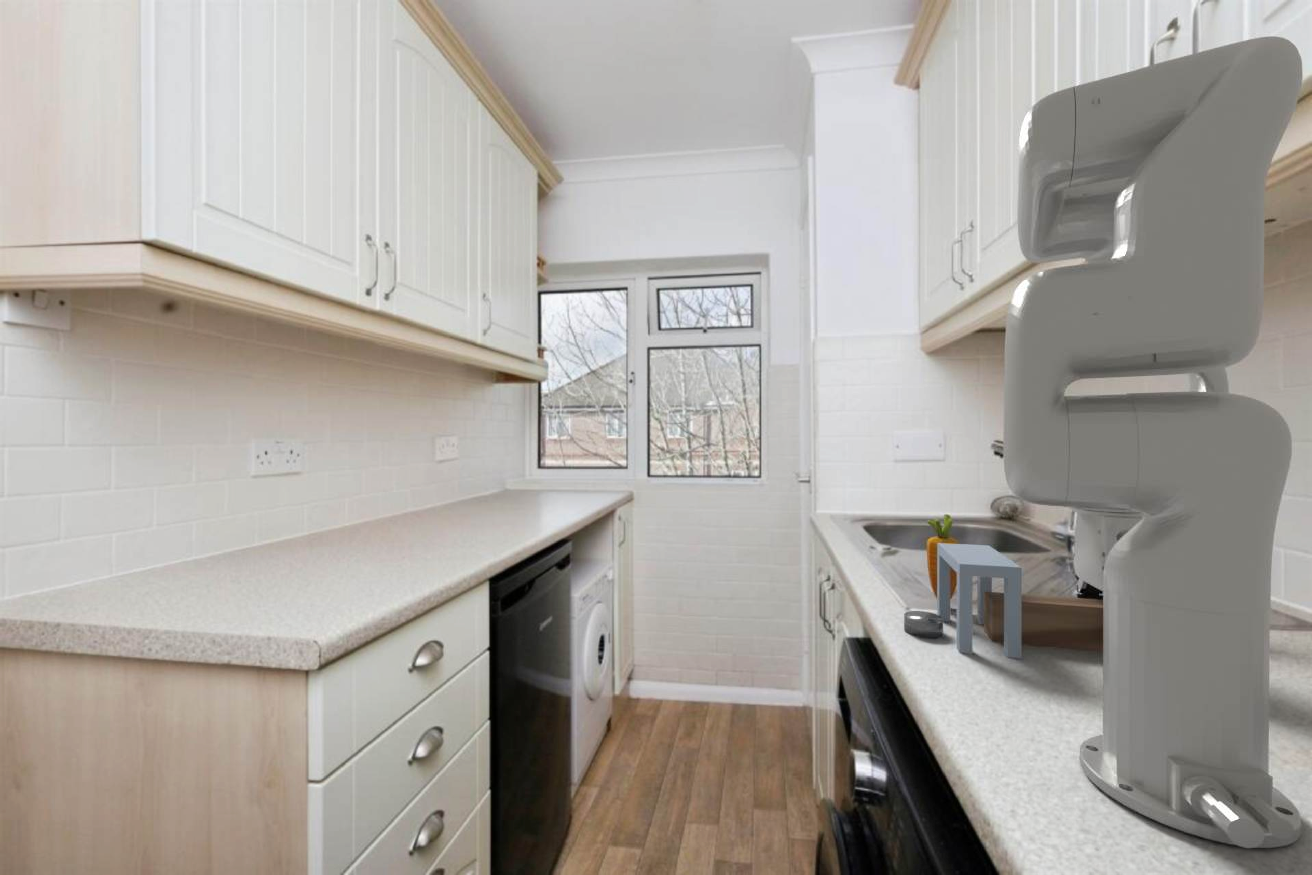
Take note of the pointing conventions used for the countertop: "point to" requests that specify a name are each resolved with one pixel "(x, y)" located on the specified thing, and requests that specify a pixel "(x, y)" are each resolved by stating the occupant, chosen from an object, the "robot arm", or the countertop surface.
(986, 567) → the low shelf
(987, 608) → the brown block
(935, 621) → the grey metal short cylinder
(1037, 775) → the countertop surface
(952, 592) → the carrot
